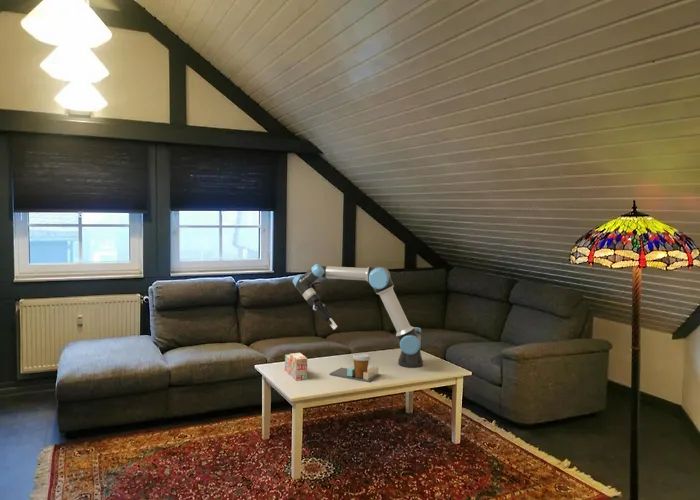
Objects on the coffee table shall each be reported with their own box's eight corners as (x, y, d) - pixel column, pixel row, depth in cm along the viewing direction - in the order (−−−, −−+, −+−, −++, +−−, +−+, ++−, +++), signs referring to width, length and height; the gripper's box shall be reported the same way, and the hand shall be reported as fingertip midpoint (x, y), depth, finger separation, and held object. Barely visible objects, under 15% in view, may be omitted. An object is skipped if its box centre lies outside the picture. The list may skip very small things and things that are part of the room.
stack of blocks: (284, 370, 324) (284, 349, 323) (294, 369, 327) (295, 348, 326) (296, 381, 305) (296, 358, 304) (307, 380, 307) (307, 357, 306)
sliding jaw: (347, 375, 312) (347, 369, 312) (357, 370, 324) (357, 363, 323) (351, 376, 311) (352, 370, 310) (362, 370, 322) (362, 364, 322)
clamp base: (329, 375, 317) (329, 366, 316) (341, 369, 329) (341, 360, 329) (369, 382, 305) (369, 373, 305) (380, 376, 318) (380, 367, 317)
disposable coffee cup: (372, 375, 314) (373, 354, 313) (363, 380, 306) (363, 358, 305) (358, 372, 319) (358, 352, 318) (348, 376, 311) (349, 355, 310)
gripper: (313, 299, 341) (337, 330, 334) (301, 302, 329) (326, 334, 323) (321, 291, 338) (345, 322, 331) (309, 294, 326) (334, 326, 320)
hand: (335, 328), depth 327 cm, fingers closed
